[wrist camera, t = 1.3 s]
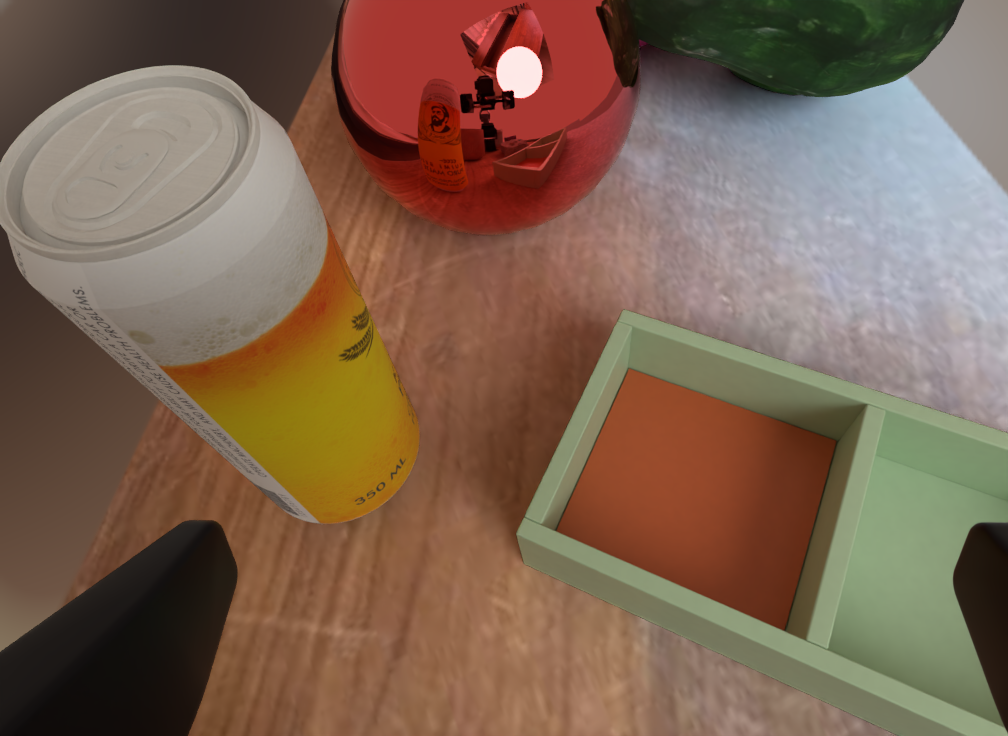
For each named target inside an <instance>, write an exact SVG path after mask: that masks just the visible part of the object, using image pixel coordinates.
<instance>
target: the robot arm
mask: <svg viewBox="0 0 1008 736" xmlns="http://www.w3.org/2000/svg"><path fill="white" fill-rule="evenodd" d="M236 583H237V565H236V562H235V559H234V557H233V554H232V551H231V549H230V546H229V544H228V541H227V538H226V536H225V533H224V531H223V528H222V526H221V525H220V524H219V523H218V522H216V521H213V520H189V521H185V522H182V523H181V524H179V525H178V526H176V527H175V528H173V529H172V530H171V531H169V532H168V533H166V534H165V535H163V536H162V537H161V538H159V539H158V540H156V541H155V542H154V543H152V544H151V545H149V546H148V547H147V548H145V549H144V550H142V551H141V552H140V553H138V554H137V555H135V556H134V557H133V558H131V559H130V560H128V561H127V562H126V563H124V564H123V565H121V566H120V567H119V568H117V569H116V570H114V571H113V572H112V573H110V574H109V575H107V576H106V577H105V578H103V579H102V580H100V581H99V582H98V583H96V584H95V585H93V586H92V587H91V588H89V589H88V590H86V591H85V592H84V593H82V594H81V595H79V596H78V597H76V598H75V599H74V600H72V601H71V602H69V603H68V604H67V605H65V606H64V607H62V608H61V609H60V610H58V611H57V612H55V613H54V614H53V615H51V616H50V617H48V618H47V619H46V620H44V621H43V622H42V623H40V624H39V625H37V626H36V627H34V628H33V629H32V630H30V631H29V632H28V633H26V634H25V635H23V636H22V637H20V638H19V639H18V640H16V641H15V642H13V643H12V644H11V645H9V646H8V647H6V648H5V649H4V650H2V651H1V652H0V736H188V734H189V731H190V729H191V726H192V724H193V721H194V719H195V716H196V714H197V711H198V708H199V706H200V703H201V701H202V698H203V695H204V692H205V688H206V685H207V682H208V679H209V676H210V672H211V669H212V666H213V662H214V659H215V655H216V652H217V649H218V645H219V642H220V638H221V635H222V632H223V628H224V625H225V621H226V618H227V615H228V611H229V608H230V604H231V601H232V597H233V594H234V591H235V587H236ZM953 587H954V592H955V595H956V598H957V601H958V603H959V606H960V609H961V612H962V614H963V617H964V620H965V623H966V625H967V628H968V631H969V634H970V636H971V639H972V642H973V645H974V647H975V650H976V653H977V656H978V658H979V661H980V664H981V667H982V669H983V672H984V675H985V678H986V680H987V683H988V686H989V689H990V691H991V694H992V697H993V700H994V702H995V705H996V707H997V710H998V712H999V715H1000V717H1001V720H1002V722H1003V725H1004V727H1005V729H1006V731H1007V733H1008V522H980V523H976V524H975V525H974V526H973V527H971V529H970V530H969V532H968V535H967V538H966V540H965V543H964V545H963V548H962V551H961V553H960V556H959V558H958V561H957V564H956V566H955V569H954V573H953Z"/></svg>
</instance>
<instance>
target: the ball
mask: <svg viewBox="0 0 1008 736" xmlns="http://www.w3.org/2000/svg"><path fill="white" fill-rule="evenodd" d="M331 72H332V85H333V91H334V96H335V100H336V104H337V108H338V112H339V115H340V119H341V123H342V126H343V129H344V133H345V135H346V138H347V140H348V143H349V145H350V147H351V148H352V150H353V152H354V154H355V155H356V157H357V158H358V160H359V161H360V162H361V164H362V165H363V167H364V168H365V169H366V171H367V172H368V173H369V175H370V176H371V177H372V179H373V180H374V182H375V183H376V184H377V185H378V186H379V188H380V189H381V190H382V191H383V192H384V193H385V194H386V195H388V196H389V197H390V198H391V199H393V200H394V201H396V202H397V203H398V204H400V205H401V206H402V207H404V208H405V209H407V210H408V211H409V212H411V213H412V214H414V215H415V216H417V217H418V218H420V219H422V220H425V221H428V222H430V223H433V224H435V225H438V226H441V227H443V228H446V229H448V230H451V231H456V232H463V233H470V234H476V235H495V234H510V233H514V232H518V231H522V230H526V229H530V228H534V227H537V226H539V225H541V224H544V223H546V222H548V221H550V220H552V219H554V218H556V217H558V216H561V215H562V214H564V213H565V212H567V211H568V210H569V209H571V208H572V207H573V206H574V205H576V204H577V203H578V202H580V201H581V200H582V199H584V198H585V197H586V196H587V195H589V194H590V193H591V192H592V191H593V190H594V189H595V187H596V186H597V185H598V184H599V182H600V181H601V180H602V178H603V177H604V176H605V175H606V173H607V172H608V171H609V169H610V168H611V167H612V165H613V164H614V163H615V161H616V160H617V158H618V156H619V155H620V153H621V151H622V149H623V146H624V144H625V141H626V139H627V136H628V133H629V130H630V128H631V125H632V122H633V119H634V116H635V113H636V110H637V106H638V102H639V95H640V83H641V73H640V43H639V36H638V30H637V26H636V22H635V19H634V16H633V13H632V10H631V8H630V5H629V3H628V1H627V0H344V1H343V3H342V6H341V8H340V11H339V15H338V19H337V25H336V31H335V38H334V45H333V52H332V65H331Z"/></svg>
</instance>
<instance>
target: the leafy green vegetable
mask: <svg viewBox="0 0 1008 736" xmlns="http://www.w3.org/2000/svg"><path fill="white" fill-rule="evenodd" d="M627 1H628V3H629V5H630V8H631V10H632V13H633V16H634V19H635V22H636V26H637V30H638V36H639V40H641V41H644V42H646V43H648V44H650V45H652V46H655V47H657V48H660V49H662V50H665V51H668V52H671V53H675V54H679V55H684V56H688V57H693V58H698V59H702V60H706V61H709V62H712V63H716V64H719V65H722V66H725V67H727V68H729V69H730V70H731V72H732V73H733V74H734V75H736V76H737V77H739V78H741V79H743V80H744V81H746V82H748V83H751V84H753V85H756V86H758V87H761V88H764V89H767V90H769V91H772V92H777V93H783V94H789V95H805V96H814V97H831V96H841V95H848V94H851V93H855V92H858V91H862V90H865V89H868V88H872V87H875V86H879V85H884V84H887V83H890V82H893V81H895V80H897V79H899V78H901V77H903V76H905V75H906V74H908V73H909V72H911V71H912V70H913V69H914V68H915V67H917V66H918V65H919V64H921V63H922V62H923V61H924V60H925V59H926V58H927V56H928V55H929V54H930V53H931V51H932V50H933V49H934V48H935V47H936V46H937V45H938V44H939V43H940V42H941V41H942V39H943V38H944V37H945V35H946V34H947V33H948V31H949V30H950V28H951V27H952V26H953V24H954V22H955V20H956V17H957V15H958V12H959V10H960V8H961V6H962V3H963V2H964V0H627Z"/></svg>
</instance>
